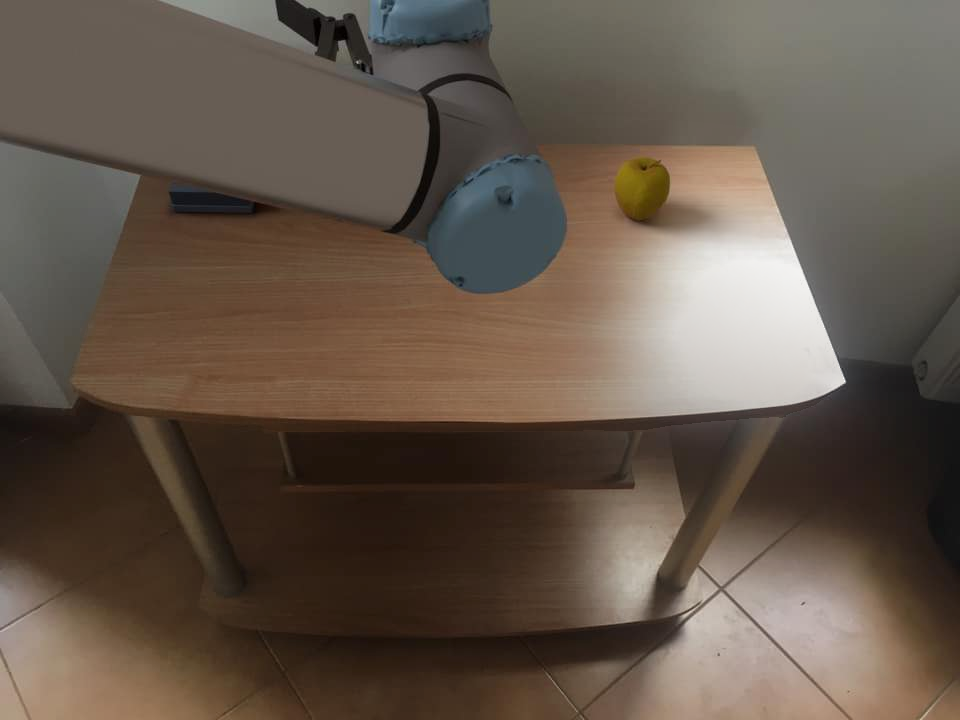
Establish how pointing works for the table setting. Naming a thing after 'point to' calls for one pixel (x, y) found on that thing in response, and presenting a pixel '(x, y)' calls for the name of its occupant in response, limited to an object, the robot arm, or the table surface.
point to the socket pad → (206, 201)
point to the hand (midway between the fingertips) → (216, 26)
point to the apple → (641, 187)
